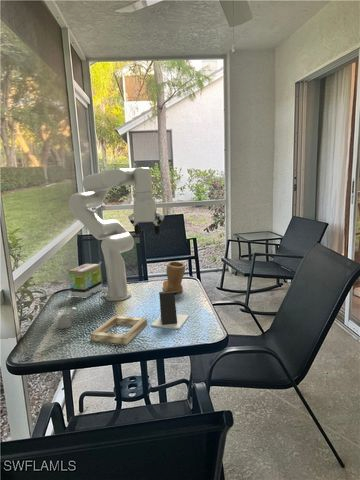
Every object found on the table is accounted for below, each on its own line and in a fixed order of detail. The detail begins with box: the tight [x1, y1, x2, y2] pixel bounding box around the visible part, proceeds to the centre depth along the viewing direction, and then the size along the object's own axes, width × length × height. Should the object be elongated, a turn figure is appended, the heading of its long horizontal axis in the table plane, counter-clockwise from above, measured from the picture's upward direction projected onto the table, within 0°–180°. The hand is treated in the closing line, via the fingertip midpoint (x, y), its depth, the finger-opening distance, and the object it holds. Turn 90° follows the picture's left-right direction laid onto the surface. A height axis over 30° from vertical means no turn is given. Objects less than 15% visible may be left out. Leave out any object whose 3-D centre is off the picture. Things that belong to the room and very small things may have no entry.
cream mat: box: [150, 313, 190, 330], centre depth 135 cm, size 12×12×1 cm
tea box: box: [68, 263, 103, 298], centre depth 175 cm, size 15×10×15 cm, turn 160°
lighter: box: [58, 306, 77, 329], centre depth 136 cm, size 7×2×8 cm, turn 100°
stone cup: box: [162, 261, 186, 294], centre depth 172 cm, size 15×12×15 cm
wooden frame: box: [89, 315, 148, 345], centre depth 128 cm, size 15×17×2 cm
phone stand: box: [158, 291, 177, 325], centre depth 134 cm, size 9×6×12 cm, turn 7°
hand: (147, 234), depth 149 cm, fingers open, 9 cm apart
